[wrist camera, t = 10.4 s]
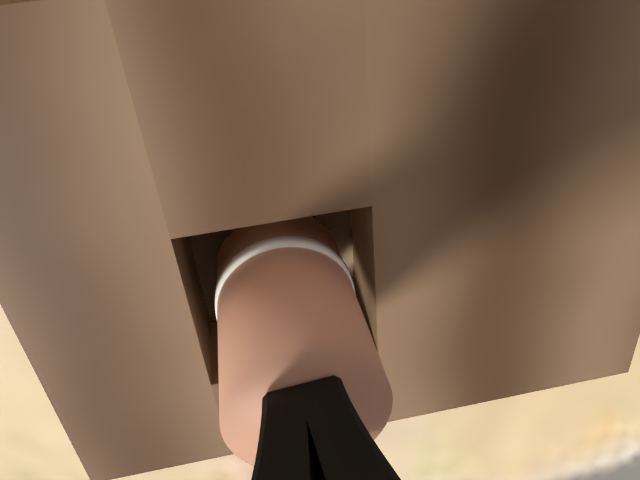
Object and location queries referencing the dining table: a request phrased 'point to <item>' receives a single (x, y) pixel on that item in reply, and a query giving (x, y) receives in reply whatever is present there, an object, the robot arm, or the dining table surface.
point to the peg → (289, 327)
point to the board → (316, 194)
